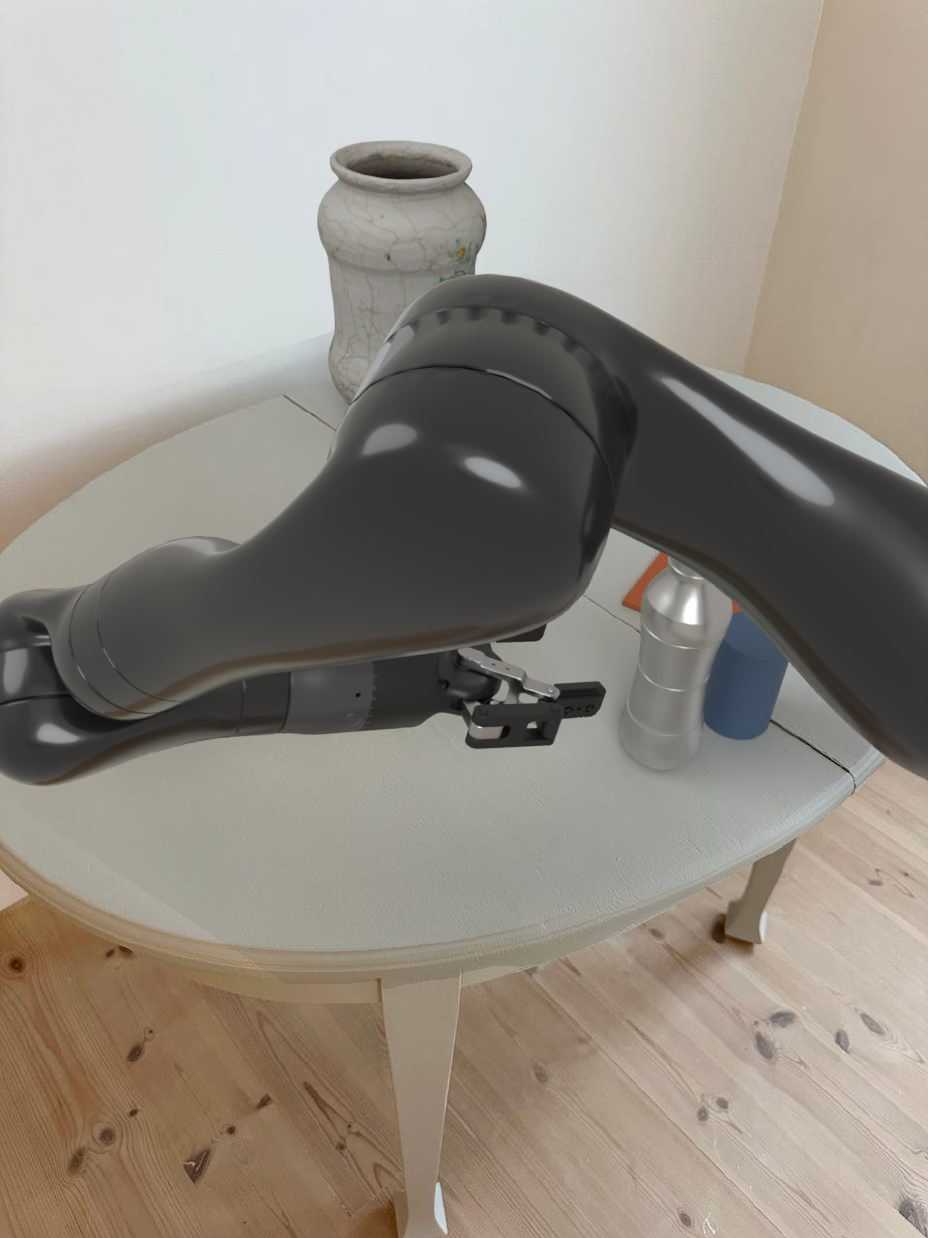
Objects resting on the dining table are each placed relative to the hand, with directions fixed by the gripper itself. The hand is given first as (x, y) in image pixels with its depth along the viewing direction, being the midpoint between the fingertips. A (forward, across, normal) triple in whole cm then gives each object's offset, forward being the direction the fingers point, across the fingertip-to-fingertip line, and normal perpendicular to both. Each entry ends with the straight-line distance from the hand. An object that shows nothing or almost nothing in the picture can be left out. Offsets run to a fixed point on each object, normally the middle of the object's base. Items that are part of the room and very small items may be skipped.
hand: (570, 659), depth 66 cm
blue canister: (+19, +2, +8) cm, 21 cm away
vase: (+10, +58, +6) cm, 59 cm away
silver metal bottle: (+12, +1, +10) cm, 15 cm away
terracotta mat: (+26, +15, +5) cm, 31 cm away
